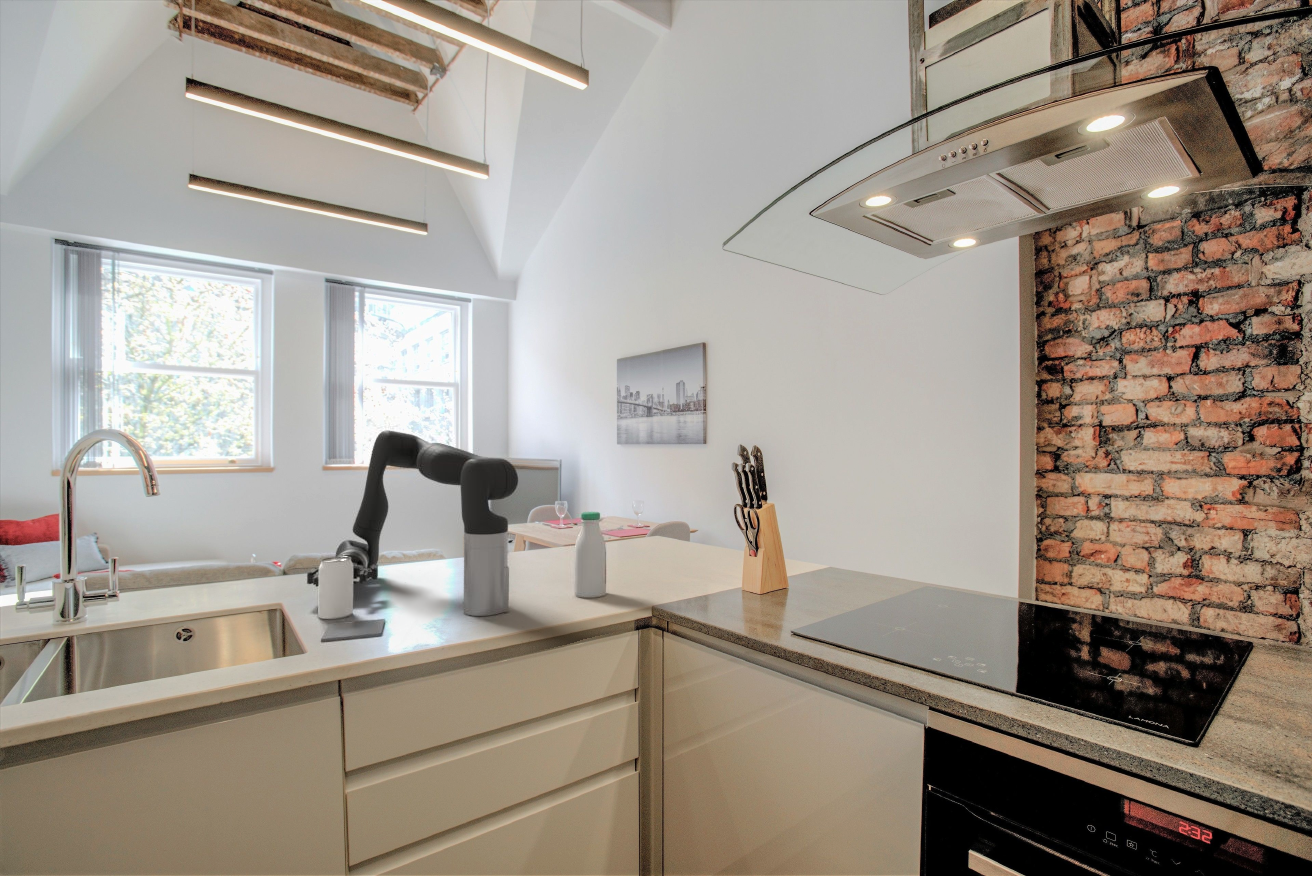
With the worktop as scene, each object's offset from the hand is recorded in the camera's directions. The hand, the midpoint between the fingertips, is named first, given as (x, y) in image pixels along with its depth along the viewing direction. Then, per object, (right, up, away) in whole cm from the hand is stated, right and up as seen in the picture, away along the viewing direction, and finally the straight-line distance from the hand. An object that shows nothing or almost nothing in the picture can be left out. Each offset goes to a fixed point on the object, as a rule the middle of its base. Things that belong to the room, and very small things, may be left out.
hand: (339, 580), depth 130 cm
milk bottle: (+53, -7, +14) cm, 56 cm away
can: (+2, -7, -5) cm, 8 cm away
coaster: (+11, -6, -15) cm, 19 cm away
